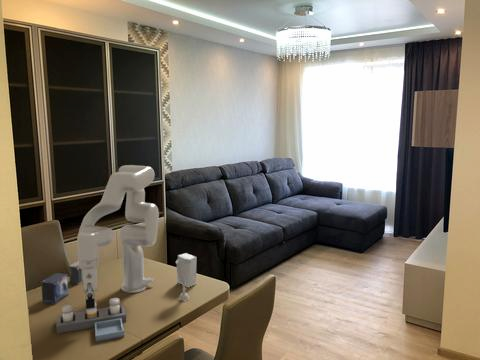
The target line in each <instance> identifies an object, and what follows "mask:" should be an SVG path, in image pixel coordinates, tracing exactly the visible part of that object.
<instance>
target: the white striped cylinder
mask: <svg viewBox="0 0 480 360" xmlns="http://www.w3.org/2000/svg"><path fill="white" fill-rule="evenodd" d="M97 305H98V304H97V301H95V308H90V309H86V311H87V319H90V318H96V317H97V309H98V308H97Z"/></svg>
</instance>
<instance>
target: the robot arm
mask: <svg viewBox="0 0 480 360" xmlns="http://www.w3.org/2000/svg"><path fill="white" fill-rule="evenodd" d="M155 176H156V175H155V171H154V169H153V168H152V166H147V165H134V164H129V165H126V164H125V165H122V166H120V167H119V168H118V171H117V172H113V173H112V174H110V176H109V179H108V181H107V184H106V186H105V188H104V193H103V195H102V196H101V197H102V198H101V200H100V202H99V203H97V204H95V206H93V207H92V208H91V209H90V210H89V211H88V212H87V213H86V214H85V216H84V217H83V219H82V222H81V225H80V227H79V230H78V234H77V236H76V237H77V238H76V239H77V240H76V241H77V259H78V265H79V268H80V269H82V278H83V281H82V286H83V287H82V288H83V292H84V293H85V310H87V309H90V308H95V302H96V301H95V293H96V292H98V279H97V278H98V277H97V275H98V274H97V272H98V271H97V268H98V266H99V248H101V247H102V248H103V247H105V246H106V247H107V246H108V245H111V244H112V242H113V241H114V239H115V231H114V230H113V229H112V228H110V227H106V226H99V225H95V224H96V223H97V222H98V221H99V220H100V219H101V218H103V217H104V216H106V215H109V214H112V213H114V212H116V211H118V210H120V209H121V206H122V204H123V200H124V198H125V195H126V199H125V200H126V201H125V211H124V213H125V214H124V215H125V220H126V221H129V222H131V223H132V222H133V223H141V224H142V223H143V224H144V225H141V224H126V225H124V226H122V227H121V228H120V231H119V239H120V242H121V249H122V265H123V266H122V267H123V283H122V284H121V286H120V289H121V291H122V292H124V293H128V294H135V293H140V292H143V291H145V290H146V289H148V286H149V285H148V284H150V283H154V282H155V278H153V277H152V278H151V277H149V276H148V277H145V262H144V261H145V260H144V250H143V248H142V247H152V246H154V245H155V244H156V241H157V238H158V232H159V231H158V229H159V220H160V219H159V217H160V211H159V208H158V206H157V205H156V204H155V203H151V202H146V201H145V200H146V199H145V198H146V191H145V188H146V187H148V186H149V185H151V184H152V183H153V181H154V179H155Z"/></svg>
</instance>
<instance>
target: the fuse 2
mask: <svg viewBox="0 0 480 360" xmlns="http://www.w3.org/2000/svg"><path fill="white" fill-rule="evenodd" d="M120 301H121V300H120V298H118V297H113V298H110V299H109V302H108V303H109V307H110V315H114V314H120V307H119V305H120V303H121V302H120Z"/></svg>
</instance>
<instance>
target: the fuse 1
mask: <svg viewBox="0 0 480 360" xmlns="http://www.w3.org/2000/svg"><path fill="white" fill-rule="evenodd" d="M73 308H74V307H73V305H72V304H67V305H63V306H62V307H61V313H62V314H61V315H63V323H66V322H72V321H73V313H74V312H73V311H74V309H73Z"/></svg>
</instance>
